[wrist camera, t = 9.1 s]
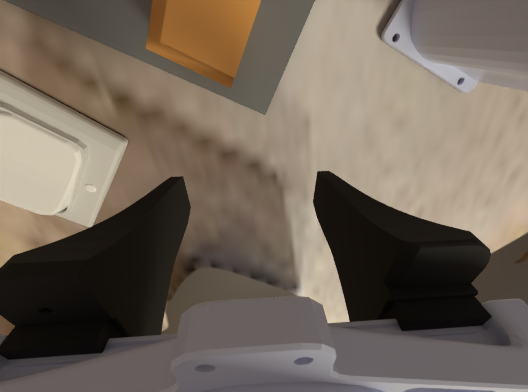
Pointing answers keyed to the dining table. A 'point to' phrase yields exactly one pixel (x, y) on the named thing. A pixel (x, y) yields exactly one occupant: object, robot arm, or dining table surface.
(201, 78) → the board
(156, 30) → the orange panelled cube
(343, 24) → the dining table surface
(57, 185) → the light switch
